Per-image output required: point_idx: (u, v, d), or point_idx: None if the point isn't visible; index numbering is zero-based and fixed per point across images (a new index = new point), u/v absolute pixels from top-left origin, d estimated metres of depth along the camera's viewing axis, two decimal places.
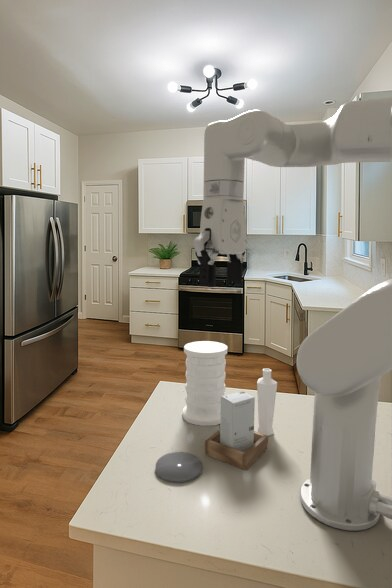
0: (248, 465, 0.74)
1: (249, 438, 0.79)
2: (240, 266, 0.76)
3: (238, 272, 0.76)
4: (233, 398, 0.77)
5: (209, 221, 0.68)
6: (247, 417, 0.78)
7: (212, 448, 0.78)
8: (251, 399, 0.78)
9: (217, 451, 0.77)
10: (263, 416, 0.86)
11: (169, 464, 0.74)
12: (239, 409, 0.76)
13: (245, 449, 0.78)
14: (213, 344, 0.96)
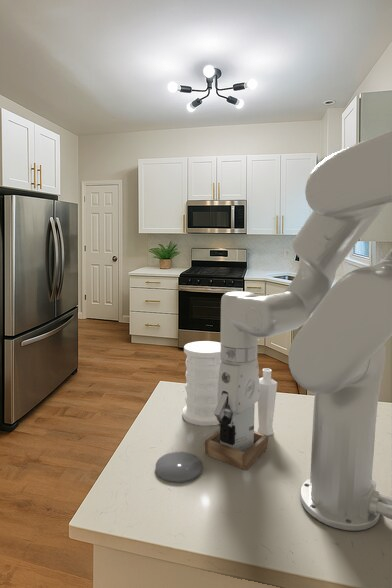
0: (248, 465, 0.74)
1: (249, 438, 0.79)
2: None
3: None
4: None
5: (226, 385, 0.74)
6: (247, 417, 0.78)
7: (212, 448, 0.78)
8: None
9: (217, 451, 0.77)
10: (263, 416, 0.86)
11: (169, 464, 0.74)
12: None
13: (245, 449, 0.78)
14: (213, 344, 0.96)
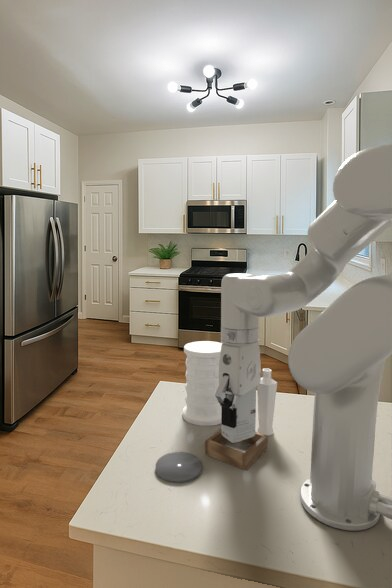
0: (248, 465, 0.74)
1: (251, 421, 0.78)
2: None
3: None
4: None
5: (227, 367, 0.73)
6: (248, 400, 0.77)
7: (212, 448, 0.78)
8: None
9: (217, 451, 0.77)
10: (263, 416, 0.86)
11: (169, 464, 0.74)
12: None
13: (247, 432, 0.77)
14: (213, 344, 0.96)
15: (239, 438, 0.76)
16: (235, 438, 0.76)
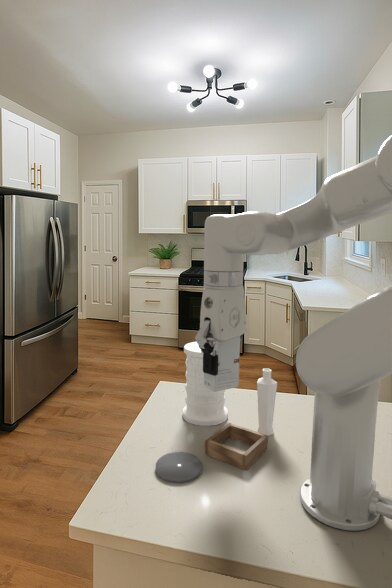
0: (248, 465, 0.74)
1: (234, 371, 0.75)
2: None
3: None
4: None
5: (209, 311, 0.70)
6: (231, 348, 0.74)
7: (212, 448, 0.78)
8: None
9: (217, 451, 0.77)
10: (263, 416, 0.86)
11: (169, 464, 0.74)
12: None
13: (229, 382, 0.75)
14: None
15: (221, 387, 0.74)
16: (217, 387, 0.73)
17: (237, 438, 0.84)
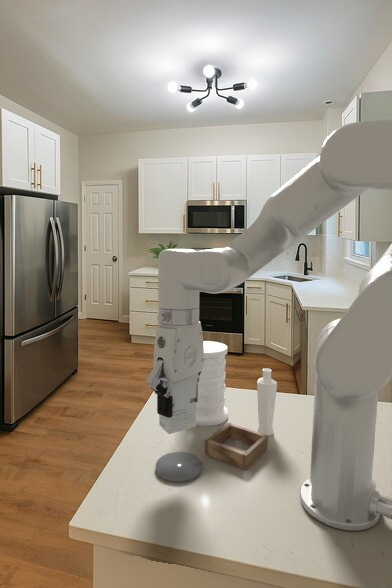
0: (248, 465, 0.74)
1: (190, 411, 0.71)
2: None
3: None
4: None
5: (161, 351, 0.66)
6: (187, 388, 0.71)
7: (212, 448, 0.78)
8: None
9: (217, 451, 0.77)
10: (263, 416, 0.86)
11: (169, 464, 0.74)
12: None
13: (185, 423, 0.71)
14: (213, 344, 0.96)
15: (176, 429, 0.70)
16: (171, 429, 0.70)
17: (237, 438, 0.84)
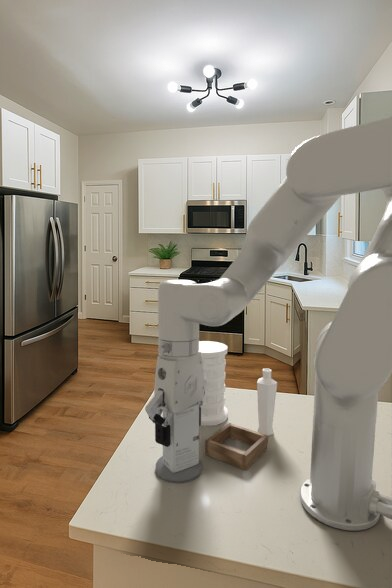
0: (248, 465, 0.74)
1: (193, 449, 0.73)
2: (199, 411, 0.75)
3: None
4: None
5: (162, 382, 0.67)
6: (190, 426, 0.72)
7: (212, 448, 0.78)
8: (195, 407, 0.72)
9: (217, 451, 0.77)
10: (263, 416, 0.86)
11: None
12: (180, 417, 0.71)
13: (189, 461, 0.72)
14: (213, 344, 0.96)
15: (180, 468, 0.71)
16: (175, 468, 0.71)
17: (237, 438, 0.84)
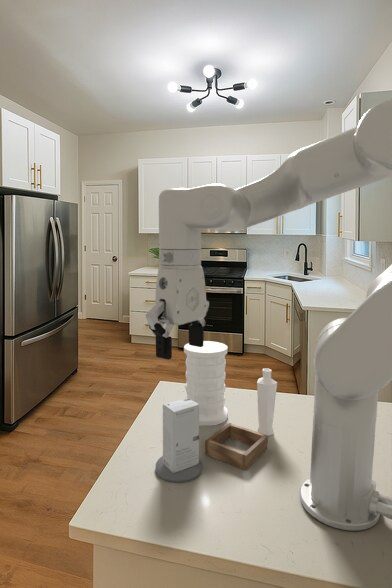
0: (248, 465, 0.74)
1: (193, 449, 0.73)
2: (202, 330, 0.73)
3: (199, 336, 0.74)
4: (175, 406, 0.72)
5: (163, 292, 0.65)
6: (190, 426, 0.72)
7: (212, 448, 0.78)
8: (195, 407, 0.72)
9: (217, 451, 0.77)
10: (263, 416, 0.86)
11: None
12: (180, 417, 0.71)
13: (189, 461, 0.72)
14: (213, 344, 0.96)
15: (180, 468, 0.71)
16: (175, 468, 0.71)
17: (237, 438, 0.84)
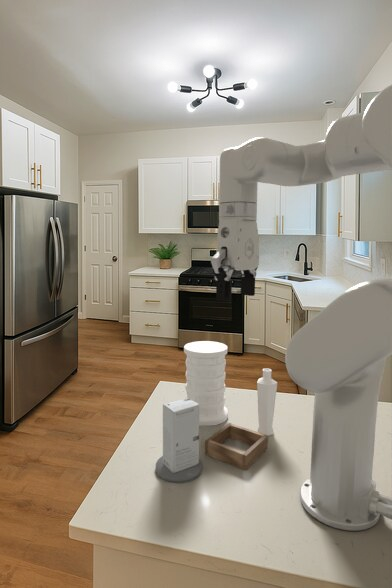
0: (248, 465, 0.74)
1: (193, 449, 0.73)
2: (253, 280, 0.81)
3: (251, 286, 0.81)
4: (175, 406, 0.72)
5: (225, 240, 0.73)
6: (190, 426, 0.72)
7: (212, 448, 0.78)
8: (195, 407, 0.72)
9: (217, 451, 0.77)
10: (263, 416, 0.86)
11: None
12: (180, 417, 0.71)
13: (189, 461, 0.72)
14: (213, 344, 0.96)
15: (180, 468, 0.71)
16: (175, 468, 0.71)
17: (237, 438, 0.84)
